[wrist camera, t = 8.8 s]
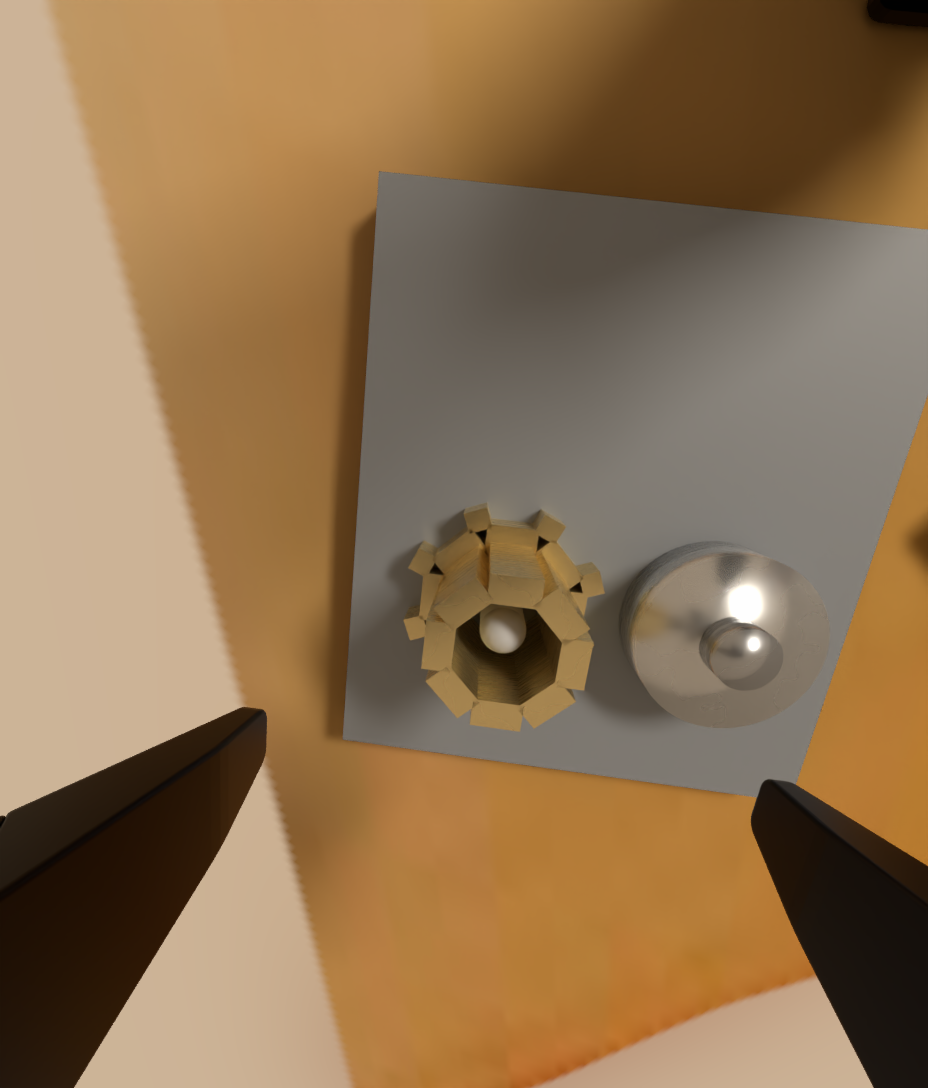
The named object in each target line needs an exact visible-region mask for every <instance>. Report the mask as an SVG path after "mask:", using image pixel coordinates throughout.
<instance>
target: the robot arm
mask: <svg viewBox="0 0 928 1088" xmlns="http://www.w3.org/2000/svg"><path fill="white" fill-rule="evenodd" d="M867 10H868V13H869V16H870V17H871V18H872V19H873V20H874V21H877V22H881V23H891V24H902V25H912V26H923V27H928V0H868V3H867ZM266 734H267V716H266V712H265V711H264V710H262V709H256V708H249V707H242V708H239V709H237V710H235V711H232V712H230V713H228V714H226V715H223V716H221V717H219V718H217V719H215V720H212V721H211V722H208V723H206V724H204V725H201V726H199V727H197V728H195V729H192V730H190V731H188V732H186V733H184V734H181V735H179V736H177V737H175V738H172V739H170V740H168V741H166V742H164V743H161V744H159V745H157V746H155V747H152V748H150V749H148V750H146V751H144V752H141V753H139V754H137V755H135V756H132V757H130V758H128V759H126V760H124V761H122V762H119V763H117V764H115V765H113V766H111V767H108V768H106V769H104V770H102V771H99V772H97V773H95V774H93V775H90V776H88V777H86V778H84V779H82V780H79V781H77V782H75V783H73V784H70V785H68V786H66V787H64V788H61V789H59V790H57V791H55V792H53V793H50V794H48V795H46V796H44V797H41V798H40V799H37V800H35V801H33V802H30V803H28V804H26V805H24V806H21V807H19V808H17V809H15V810H13V811H11V812H9V813H8V814H7V816H6V817H5V816H0V1088H74V1087H75V1085H76V1084H77V1082H78V1080H79V1079H80V1077H81V1075H82V1074H83V1072H84V1071H85V1069H86V1067H87V1066H88V1064H89V1062H90V1061H91V1059H92V1057H93V1056H94V1054H95V1052H96V1051H97V1049H98V1048H99V1046H100V1044H101V1043H102V1041H103V1039H104V1038H105V1036H106V1035H107V1033H108V1031H109V1030H110V1028H111V1026H112V1025H113V1023H114V1022H115V1020H116V1018H117V1017H118V1015H119V1013H120V1012H121V1010H122V1009H123V1007H124V1005H125V1004H126V1002H127V1000H128V999H129V997H130V995H131V994H132V992H133V990H134V989H135V987H136V986H137V984H138V982H139V981H140V979H141V978H142V976H143V974H144V973H145V971H146V969H147V968H148V966H149V965H150V963H151V961H152V959H153V958H154V956H155V955H156V953H157V951H158V950H159V948H160V947H161V945H162V943H163V942H164V940H165V938H166V937H167V935H168V934H169V932H170V930H171V928H172V927H173V925H174V924H175V922H176V920H177V919H178V917H179V916H180V914H181V912H182V911H183V909H184V907H185V906H186V904H187V902H188V901H189V899H190V898H191V896H192V894H193V893H194V891H195V890H196V888H197V886H198V885H199V883H200V881H201V880H202V878H203V876H204V875H205V873H206V871H207V870H208V868H209V866H210V865H211V863H212V862H213V860H214V858H215V857H216V855H217V853H218V851H219V850H220V848H221V846H222V844H223V842H224V840H225V838H226V836H227V835H228V833H229V830H230V829H231V826H232V824H233V822H234V820H235V818H236V816H237V814H238V812H239V810H240V808H241V806H242V804H243V802H244V800H245V798H246V796H247V794H248V792H249V790H250V788H251V786H252V784H253V781H254V779H255V777H256V775H257V773H258V771H259V769H260V767H261V765H262V763H263V760H264V757H265V753H266ZM751 827H752V831H753V834H754V836H755V839H756V841H757V844H758V846H759V848H760V851H761V853H762V856H763V858H764V861H765V863H766V865H767V868H768V870H769V873H770V875H771V877H772V880H773V882H774V885H775V887H776V890H777V892H778V894H779V897H780V899H781V902H782V904H783V906H784V909H785V911H786V914H787V916H788V918H789V920H790V923H791V925H792V927H793V929H794V932H795V934H796V936H797V938H798V940H799V942H800V944H801V946H802V948H803V950H804V952H805V954H806V956H807V958H808V960H809V962H810V964H811V966H812V968H813V970H814V972H815V974H816V976H817V978H818V980H819V981H820V983H821V985H822V987H823V989H824V991H825V993H826V995H827V997H828V999H829V1001H830V1003H831V1005H832V1007H833V1009H834V1011H835V1013H836V1015H837V1017H838V1019H839V1021H840V1023H841V1025H842V1026H843V1028H844V1030H845V1032H846V1034H847V1036H848V1038H849V1040H850V1042H851V1044H852V1046H853V1048H854V1050H855V1052H856V1054H857V1056H858V1058H859V1059H860V1062H861V1064H862V1065H863V1068H864V1070H865V1071H866V1074H867V1076H868V1078H869V1079H870V1081H871V1083H872V1085H873V1087H874V1088H928V866H927V865H925V864H923V863H922V862H920V861H919V860H917V859H915V858H914V857H912V856H910V855H909V854H907V853H906V852H904V851H902V850H901V849H899V848H898V847H896V846H894V845H893V844H891V843H889V842H888V841H886V840H885V839H883V838H881V837H880V836H878V835H876V834H875V833H873V832H872V831H870V830H868V829H867V828H865V827H863V826H862V825H860V824H859V823H857V822H855V821H854V820H852V819H851V818H849V817H847V816H846V815H844V814H842V813H841V812H839V811H838V810H836V809H834V808H833V807H831V806H829V805H828V804H826V803H825V802H823V801H821V800H820V799H818V798H816V797H815V796H813V795H812V794H810V793H808V792H807V791H805V790H804V789H802V788H800V787H799V786H797V785H795V784H794V783H791V782H788V781H781V780H774V779H767V780H765V781H764V782H763V783H762V784H761V787H760V790H759V793H758V796H757V799H756V802H755V806H754V809H753V812H752V816H751Z"/></svg>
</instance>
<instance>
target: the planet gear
mask: <svg viewBox="0 0 928 1088" xmlns="http://www.w3.org/2000/svg"><path fill="white" fill-rule="evenodd" d="M464 517H465V521H466V524H467V527H465V528H464V529H463V530H461V531H460V532H459V533H457V534H456V535H455V536H453V537H452V538H451V539H450V540H448V541H447V542H446V543H444V544H443V545H442V546H440V547H439V548H437V547H435V546H433V545H432V544H430V543H428V542H426V541H423V543H422V544H421V546H420V547H419V549H418V551H417V553H416V554H415V556H414V558H413V560H412V562H411V564H410V565H409V567H408V568H409V569H411V570H413V571H415V572H416V573H418V574H420V575H422V576H423V583H422V593H421V603H420V605H417V606H413V607H409V609H408V611H407V613H406V615H405V617H404V619H403V621H404V624H405V627H406V630H407V633H408V636H409V639H410V640H414V639H418V638H422V637H424V647H423V656H422V666H421V669H428V673H427V677H426V681H425V682H426V683H427V684H428V685H429V686H430V687H431V688H432V690H433V691H434V692H435V693H436V694H437V695H438V697H439V698H440V699H441V700H442V701H443V702H444V703H445V705H446V706H447V707H448V708H449V709H450V710H451V712H452V713H453V714H454V715H455V716H456V717H457V718H459V717H460V716H462V715H463V714H464V713H466V712H467V711H469V710H470V709H471V712H470V725H475V726H482V727H489V728H496V729H504V730H511V731H518V732H520V729H521V723H522V717H523V716H524V718H525V719H526V720H527V721H528V722H529V724H530V725H531V726H532V727H533V728H536V727H538V726H539V725H541V724H542V723H544V722H545V721H547V720H548V719H550V718H552V717H553V716H555V715H556V714H558V713H559V712H561V711H563V710H564V709H566V708H567V707H569V706H570V705H572V704H573V703H575V702H576V700H575V697H574V694H573V691H572V689H576V690H583V691H584V688H585V683H586V678H587V673H588V668H589V663H590V658H591V653H592V648H593V647H594V643H593V641H592V639H591V637H590V635H589V633H588V630H590V627H589V626H588V624H587V622H586V620H585V618H584V614H585V609H586V603H587V598H588V597H592V596H596V595H600V594H605V592H604V587H603V583H602V578H601V574H600V571H599V570H598V568H597V567H596V566H595V565H594V564H593V562H589V563H585V564H581V565H577V566H576V565H575V564H574V563H573V561H572V560H571V559H570V558H569V556H568V555H567V554H566V552H565V551H564V550H563V548H562V547H561V546H560V544H559V543H558V542H557V541H558V539H559V538H560V536H561V534H562V533H563V531H564V530H565V528H566V526H565V525H564V523H563V522H562V521H561V520H559V519H558V518H556V517H554V516H552V515H551V514H549V513H547V512H545V511H544V510H542V509H541V510H540V512H539V513H538V515H537V517H536V518H535V520H534V522H533V523H526V522H518V521H510V520H502V519H494V518H491V514H490V511H489V507H488V503H483V504H479V505H476V506H472V507H468V508H465V511H464ZM486 529H487V530H486ZM482 530H486V537H484V536H483V535H482V533H481V532H480V531H482ZM539 536H540V537H542V538H540V539H539V540H538V537H539ZM434 563H435V564H434ZM490 604H498V605H505V606H513V607H521V608H528V609H536V610H537V615H536V616H534V617H533V618H531V619H530V620H528V621H527V622H526V623H525V624H526V636H525V639H524V641H523V643H522V644H521V646H520V647H519V648H517V649H516V650H514V651H513V652H510V653H497V652H494V651H492V650H490V649H489V648H488V647H487V646H486V645H485V644H484V642H483V641H482V638H481V635H480V627H479V625H478V624H477V623H476V622H475V621H474V619H473V618H472V617H473V616H474V615H476V614H477V613H479V612H480V611H481V610H483V609H484V608H486V607H487V606H488V605H490Z"/></svg>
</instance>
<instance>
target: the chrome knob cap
mask: <svg viewBox="0 0 928 1088" xmlns="http://www.w3.org/2000/svg"><path fill="white" fill-rule="evenodd" d="M619 636H620V642H621V645H622V648H623V651H624V653H625V655H626V657H627V659H628V661H629V662H630V664H631V665H632V667H633V669H634V670H635V672H636V673H637V675H638V677H639V678H640V680H641V681H642V683H643V685H644V686H645V688H646V689H647V691H648V692H649V694H650V695H651V696H652V698H653V699H654V700H655V701H656V702H657V703H658V704H659V705H660V706H661V707H662V708H664V709H665V710H666V711H667V712H669V713H671V714H672V715H674V716H675V717H677V718H679V719H681V720H684V721H686V722H689V723H692V724H695V725H698V726H704V727H709V728H736V727H743V726H747V725H751V724H755V723H758V722H761V721H764V720H766V719H769V718H771V717H773V716H775V715H777V714H779V713H780V712H782V711H783V710H785V709H786V708H788V707H790V706H791V705H792V704H793V703H794V702H796V701H797V700H798V699H799V698H800V697H801V696H802V695H803V694H804V693H805V692H806V691H807V690H808V689H809V687H810V686H811V685H812V683H813V682H814V681H815V679H816V678H817V676H818V674H819V672H820V671H821V669H822V666H823V664H824V661H825V659H826V655H827V651H828V647H829V639H830V627H829V620H828V615H827V611H826V608H825V606H824V603H823V601H822V599H821V597H820V596H819V594H818V592H817V591H816V590H815V588H814V587H813V586H812V584H811V583H810V582H809V581H808V580H807V579H806V578H804V577H803V576H802V575H801V574H800V573H798V572H797V571H795V570H794V569H792V568H791V567H789V566H787V565H785V564H782V563H780V562H778V561H776V560H773V559H771V558H769V557H766V556H764V555H762V554H759V553H757V552H755V551H752V550H750V549H747V548H745V547H742V546H739V545H736V544H732V543H727V542H720V541H704V542H696V543H690V544H686V545H683V546H680V547H677V548H675V549H673V550H670V551H668V552H666V553H664V554H663V555H661V556H659V557H658V558H656V559H655V560H654V561H652V562H651V563H650V564H648V565H647V566H646V567H645V568H644V569H643V570H642V571H641V572H640V573H639V574H638V576H637V577H636V578H635V579H634V581H633V582H632V584H631V585H630V587H629V589H628V590H627V592H626V595H625V597H624V599H623V602H622V606H621V609H620V615H619Z"/></svg>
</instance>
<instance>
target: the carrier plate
mask: <svg viewBox="0 0 928 1088" xmlns="http://www.w3.org/2000/svg"><path fill="white" fill-rule="evenodd" d="M927 395H928V230H926V229H916V228H907V227H898V226H888V225H879V224H869V223H860V222H851V221H841V220H832V219H823V218H813V217H804V216H794V215H785V214H776V213H766V212H757V211H747V210H738V209H729V208H719V207H710V206H700V205H691V204H682V203H672V202H663V201H653V200H644V199H635V198H625V197H616V196H606V195H597V194H588V193H578V192H569V191H560V190H550V189H541V188H531V187H522V186H513V185H503V184H494V183H484V182H475V181H466V180H456V179H447V178H437V177H428V176H419V175H409V174H400V173H390V172H381V171H379V180H378V195H377V211H376V227H375V242H374V258H373V274H372V289H371V305H370V320H369V336H368V352H367V367H366V383H365V399H364V414H363V430H362V446H361V461H360V477H359V492H358V508H357V524H356V539H355V555H354V571H353V586H352V602H351V618H350V633H349V649H348V665H347V680H346V696H345V711H344V727H343V740H350V741H357V742H364V743H372V744H379V745H386V746H393V747H400V748H407V749H415V750H422V751H429V752H436V753H443V754H450V755H458V756H465V757H472V758H479V759H486V760H493V761H500V762H508V763H515V764H522V765H529V766H536V767H543V768H551V769H558V770H565V771H572V772H579V773H586V774H594V775H601V776H608V777H615V778H622V779H629V780H637V781H644V782H651V783H658V784H665V785H672V786H679V787H687V788H694V789H701V790H708V791H715V792H722V793H730V794H737V795H744V796H751V797H757V796H758V793H759V790H760V787H761V784H762V783H763V782H764V781H765V780H767V779H774V780H781V781H788V782H791V783H794V784H795V785H796V782H797V779H798V776H799V773H800V770H801V767H802V764H803V762H804V759H805V756H806V753H807V750H808V747H809V744H810V741H811V738H812V735H813V732H814V729H815V726H816V723H817V720H818V717H819V714H820V711H821V708H822V705H823V702H824V700H825V697H826V694H827V691H828V688H829V685H830V682H831V679H832V676H833V673H834V670H835V667H836V664H837V661H838V658H839V655H840V652H841V649H842V646H843V643H844V640H845V637H846V635H847V632H848V629H849V626H850V623H851V620H852V617H853V614H854V611H855V608H856V605H857V602H858V599H859V596H860V593H861V590H862V587H863V584H864V581H865V578H866V575H867V572H868V570H869V567H870V564H871V561H872V558H873V555H874V552H875V549H876V546H877V543H878V540H879V537H880V534H881V531H882V528H883V525H884V522H885V519H886V516H887V513H888V510H889V508H890V505H891V502H892V499H893V496H894V493H895V490H896V487H897V484H898V481H899V478H900V475H901V472H902V469H903V466H904V463H905V460H906V457H907V454H908V451H909V448H910V445H911V443H912V440H913V437H914V434H915V431H916V428H917V425H918V422H919V419H920V416H921V413H922V410H923V407H924V404H925V401H926V398H927ZM483 503H488V507H489V511H490V514H491V518H494V519H502V520H510V521H518V522H526V523H533V522H534V520H535V518H536V517H537V515H538V513H539V512H540V510H541V509H542V510H544V511H545V512H547V513H549V514H551V515H552V516H554V517H556V518H558V519H559V520H561V521H562V522H563V523H564V525H565V526H566V528H565V530H564V531H563V533H562V534H561V536H560V538H559V539H558V541H557V542H558V543H559V544H560V546H561V547H562V548H563V550H564V551H565V552H566V554H567V555H568V556H569V558H570V559H571V560H572V561H573V563H574V564H575V565H576V566H577V565H581V564H585V563H589V562H593V564H594V565H595V566H596V567H597V568H598V570H599V571H600V574H601V578H602V583H603V587H604V592H605V594H600V595H596V596H592V597H588V598H587V603H586V609H585V614H584V618H585V620H586V622H587V624H588V626H589V627H590V630H588V633H589V635H590V637H591V639H592V641H593V643H594V647H593V648H592V653H591V658H590V663H589V668H588V673H587V678H586V683H585V688H584V691H583V690H576V689H572V691H573V694H574V697H575V700H576V702H575V703H573V704H572V705H570V706H569V707H567V708H566V709H564V710H563V711H561V712H559V713H558V714H556V715H555V716H553V717H552V718H550V719H548V720H547V721H545V722H544V723H542V724H541V725H539V726H538V727H536V728H533V727H532V726H531V725H530V724H529V722H528V721H527V720H526V719H525V718H524V716H523V717H522V723H521V729H520V732H518V731H511V730H504V729H496V728H489V727H482V726H475V725H470V712H471V709H470V710H469V711H467V712H466V713H464V714H463V715H462V716H460V717H459V718H457V717H456V716H455V715H454V714H453V713H452V712H451V710H450V709H449V708H448V707H447V706H446V705H445V703H444V702H443V701H442V700H441V699H440V698H439V697H438V695H437V694H436V693H435V692H434V691H433V690H432V688H431V687H430V686H429V685H428V684H427V683H426V682H425V681H426V677H427V673H428V669H421V666H422V656H423V647H424V637H422V638H418V639H414V640H410V639H409V636H408V633H407V630H406V627H405V624H404V621H403V619H404V617H405V615H406V613H407V611H408V609H409V607H413V606H417V605H420V603H421V593H422V583H423V576H422V575H420V574H418V573H416V572H415V571H413V570H411V569H409V568H408V567H409V565H410V564H411V562H412V560H413V558H414V556H415V554H416V553H417V551H418V549H419V547H420V546H421V544H422V543H423V541H426V542H428V543H430V544H432V545H433V546H435V547H437V548H439V547H440V546H442V545H443V544H444V543H446V542H447V541H448V540H450V539H451V538H452V537H453V536H455V535H456V534H457V533H459V532H460V531H461V530H463V529H464V528H465V527H467V524H466V521H465V517H464V511H465V508H468V507H472V506H476V505H479V504H483ZM486 530H487V529H486ZM486 530H482V531H480V532H481V533H482V535H483V536H484V537H486ZM540 538H542V537H540V536H539V537H538V540H539V539H540ZM704 541H720V542H727V543H732V544H736V545H739V546H742V547H745V548H747V549H750V550H752V551H755V552H757V553H759V554H762V555H764V556H766V557H769V558H771V559H773V560H776V561H778V562H780V563H782V564H785V565H787V566H789V567H791V568H792V569H794V570H795V571H797V572H798V573H800V574H801V575H802V576H803V577H804V578H806V579H807V580H808V581H809V582H810V583H811V584H812V586H813V587H814V588H815V590H816V591H817V592H818V594H819V596H820V597H821V599H822V601H823V603H824V606H825V608H826V611H827V615H828V620H829V627H830V639H829V647H828V651H827V655H826V659H825V661H824V664H823V666H822V669H821V671H820V672H819V674H818V676H817V678H816V679H815V681H814V682H813V683H812V685H811V686H810V687H809V689H808V690H807V691H806V692H805V693H804V694H803V695H802V696H801V697H800V698H799V699H798V700H797V701H796V702H794V703H793V704H792V705H791V706H790V707H788V708H786V709H785V710H783V711H782V712H780V713H779V714H777V715H775V716H773V717H771V718H769V719H766V720H764V721H761V722H758V723H755V724H751V725H747V726H743V727H736V728H709V727H704V726H698V725H695V724H692V723H689V722H686V721H684V720H681V719H679V718H677V717H675V716H674V715H672V714H671V713H669V712H667V711H666V710H665V709H664V708H662V707H661V706H660V705H659V704H658V703H657V702H656V701H655V700H654V699H653V698H652V696H651V695H650V694H649V692H648V691H647V689H646V688H645V686H644V685H643V683H642V681H641V680H640V678H639V677H638V675H637V673H636V672H635V670H634V669H633V667H632V665H631V664H630V662H629V661H628V659H627V657H626V655H625V653H624V651H623V648H622V645H621V642H620V636H619V615H620V609H621V606H622V602H623V599H624V597H625V595H626V592H627V590H628V589H629V587H630V585H631V584H632V582H633V581H634V579H635V578H636V577H637V576H638V574H639V573H640V572H641V571H642V570H643V569H644V568H645V567H646V566H647V565H648V564H650V563H651V562H652V561H654V560H655V559H656V558H658V557H659V556H661V555H663V554H664V553H666V552H668V551H670V550H673V549H675V548H677V547H680V546H683V545H686V544H690V543H696V542H704ZM434 564H435V563H434ZM536 615H537V610H536V609H528V608H521V607H513V606H505V605H498V604H490V605H488V606H487V607H486V608H484V609H483V610H481V611H480V612H479V613H477V614H476V615H474V616H473V617H472V618H473V619H474V621H475V622H476V623H477V624H478V625H479V627H480V635H481V638H482V641H483V642H484V644H485V645H486V646H487V647H488V648H489V649H490V650H492V651H494V652H497V653H510V652H513V651H514V650H516V649H517V648H519V647H520V646H521V644H522V643H523V641H524V639H525V636H526V624H525V623H526V622H527V621H528V620H530V619H531V618H533V617H534V616H536Z"/></svg>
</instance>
